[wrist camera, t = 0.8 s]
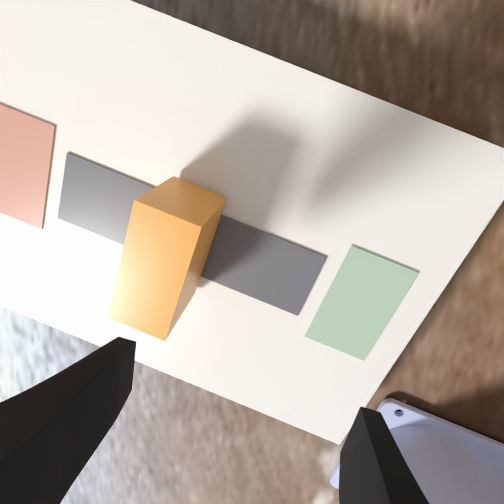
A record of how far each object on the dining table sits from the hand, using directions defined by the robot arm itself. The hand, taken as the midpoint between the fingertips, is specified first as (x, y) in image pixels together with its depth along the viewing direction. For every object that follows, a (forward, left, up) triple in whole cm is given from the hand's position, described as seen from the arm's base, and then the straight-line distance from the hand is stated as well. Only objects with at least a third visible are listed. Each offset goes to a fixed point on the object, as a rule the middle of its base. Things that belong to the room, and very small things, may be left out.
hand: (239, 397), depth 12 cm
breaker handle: (+4, -1, -6) cm, 8 cm away
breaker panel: (+4, -1, -9) cm, 10 cm away
